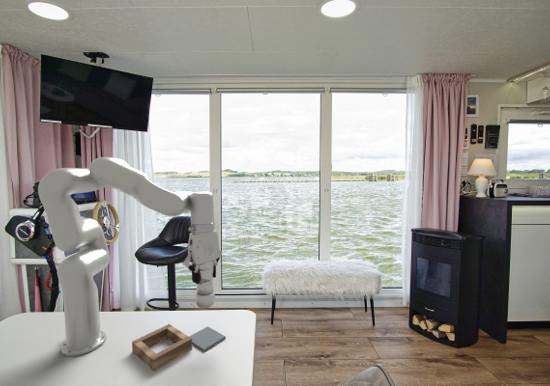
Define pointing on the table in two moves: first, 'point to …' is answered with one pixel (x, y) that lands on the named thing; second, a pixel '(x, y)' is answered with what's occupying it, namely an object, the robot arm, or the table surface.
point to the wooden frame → (164, 356)
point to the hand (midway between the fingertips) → (204, 279)
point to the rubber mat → (206, 338)
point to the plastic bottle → (205, 286)
